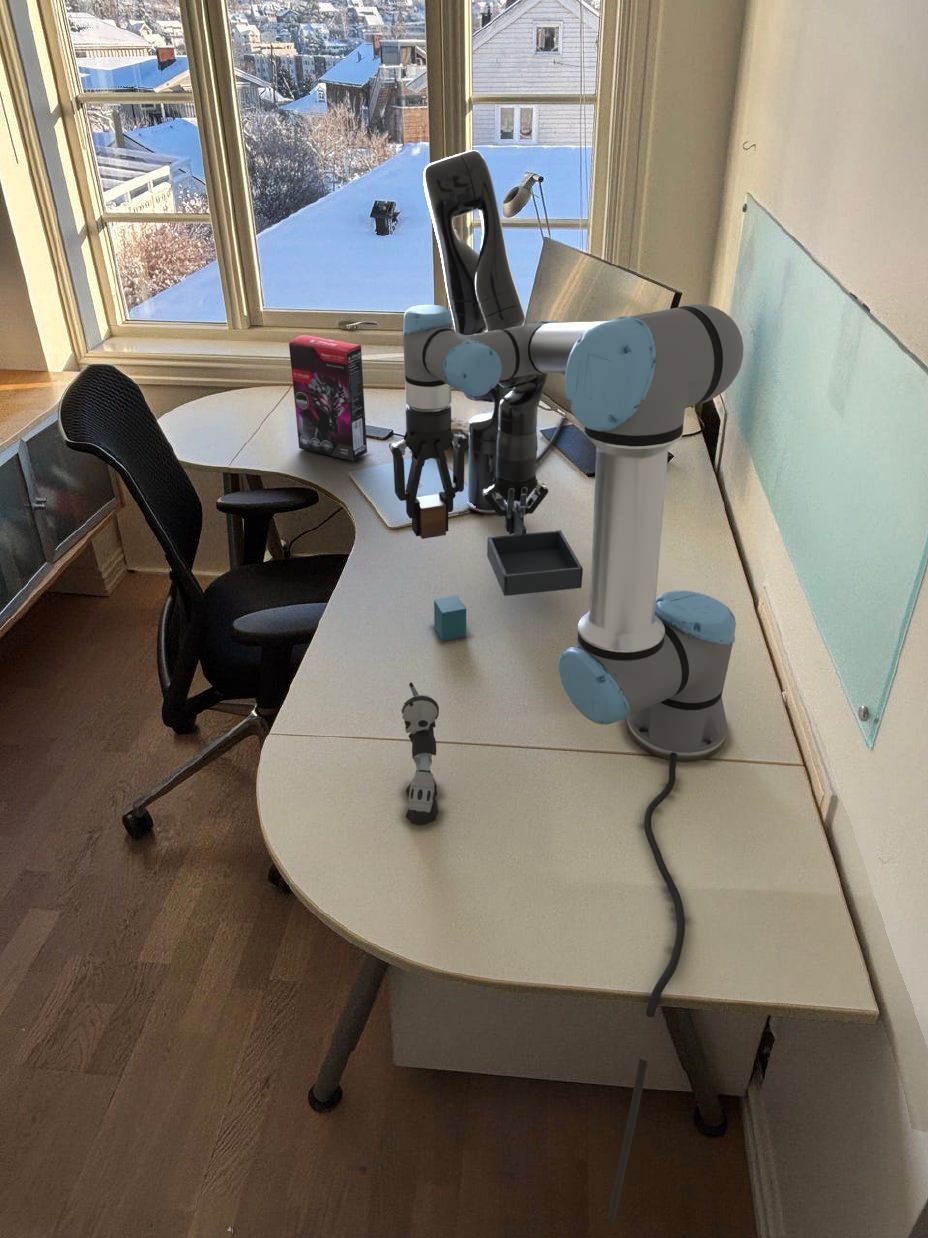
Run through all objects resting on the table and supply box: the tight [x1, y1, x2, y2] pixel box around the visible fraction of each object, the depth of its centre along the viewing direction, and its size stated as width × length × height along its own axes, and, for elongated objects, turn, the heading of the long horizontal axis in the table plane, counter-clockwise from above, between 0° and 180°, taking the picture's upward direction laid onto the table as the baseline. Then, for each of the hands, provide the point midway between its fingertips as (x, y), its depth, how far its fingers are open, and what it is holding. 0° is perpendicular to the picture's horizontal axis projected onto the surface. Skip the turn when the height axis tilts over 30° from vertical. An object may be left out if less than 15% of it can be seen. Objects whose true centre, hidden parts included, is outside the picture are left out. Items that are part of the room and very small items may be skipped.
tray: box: [486, 505, 584, 597], centre depth 172 cm, size 24×14×5 cm, turn 11°
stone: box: [451, 416, 469, 447], centre depth 236 cm, size 21×15×6 cm
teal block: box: [433, 595, 467, 642], centre depth 163 cm, size 4×4×6 cm
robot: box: [401, 681, 440, 826], centre depth 124 cm, size 20×5×20 cm, turn 3°
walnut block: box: [416, 493, 447, 540], centre depth 162 cm, size 4×4×6 cm
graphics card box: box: [288, 334, 368, 462], centre depth 223 cm, size 17×7×27 cm, turn 62°
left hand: (513, 532), depth 182 cm, fingers closed on tray, 1 cm apart
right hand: (430, 529), depth 164 cm, fingers closed on walnut block, 4 cm apart
